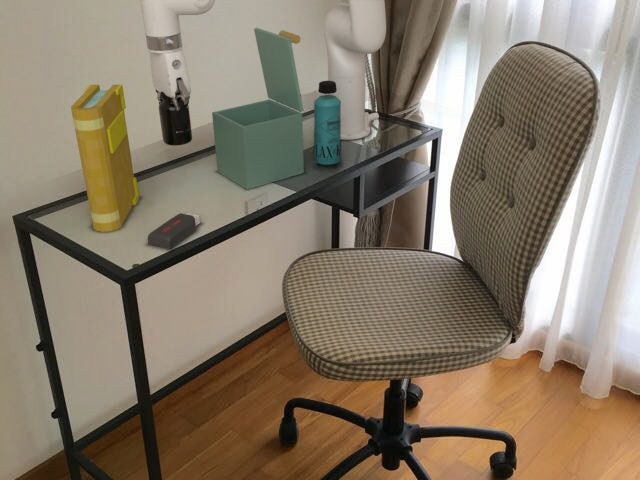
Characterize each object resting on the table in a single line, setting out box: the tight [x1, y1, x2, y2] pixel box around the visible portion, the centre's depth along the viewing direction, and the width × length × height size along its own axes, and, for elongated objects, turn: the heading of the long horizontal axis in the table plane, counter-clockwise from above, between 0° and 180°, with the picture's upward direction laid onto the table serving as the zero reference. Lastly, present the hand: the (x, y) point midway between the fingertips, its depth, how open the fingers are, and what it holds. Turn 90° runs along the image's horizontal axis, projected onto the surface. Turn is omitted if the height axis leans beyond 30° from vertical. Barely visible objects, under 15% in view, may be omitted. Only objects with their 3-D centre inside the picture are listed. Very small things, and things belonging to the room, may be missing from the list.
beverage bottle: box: [313, 80, 342, 166], centre depth 182 cm, size 6×7×20 cm
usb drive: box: [147, 212, 201, 250], centre depth 157 cm, size 5×12×3 cm, turn 154°
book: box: [70, 84, 140, 233], centre depth 160 cm, size 17×7×25 cm, turn 178°
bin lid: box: [253, 27, 304, 113], centre depth 177 cm, size 16×14×6 cm
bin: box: [211, 98, 305, 190], centre depth 181 cm, size 16×14×14 cm
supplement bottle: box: [158, 91, 193, 147], centre depth 179 cm, size 7×7×12 cm
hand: (175, 121), depth 180 cm, fingers closed on supplement bottle, 6 cm apart
